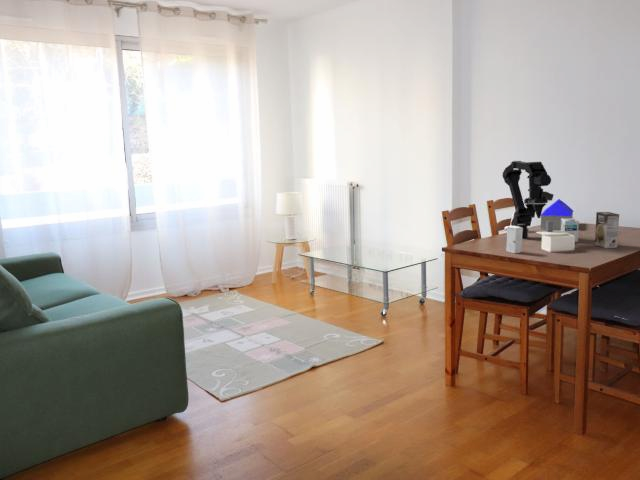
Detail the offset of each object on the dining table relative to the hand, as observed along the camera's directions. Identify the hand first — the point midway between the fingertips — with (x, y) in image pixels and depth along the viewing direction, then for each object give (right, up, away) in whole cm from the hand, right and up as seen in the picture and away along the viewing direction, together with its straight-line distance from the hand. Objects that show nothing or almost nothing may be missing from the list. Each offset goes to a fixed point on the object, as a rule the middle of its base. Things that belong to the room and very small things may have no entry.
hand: (536, 217), depth 287 cm
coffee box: (+29, -14, -13) cm, 35 cm away
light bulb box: (+19, -12, +5) cm, 22 cm away
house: (+31, -4, +49) cm, 59 cm away
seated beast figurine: (+2, -6, +38) cm, 39 cm away
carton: (+3, -16, -18) cm, 24 cm away
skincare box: (-18, -17, -19) cm, 31 cm away
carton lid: (+2, -8, -14) cm, 17 cm away
